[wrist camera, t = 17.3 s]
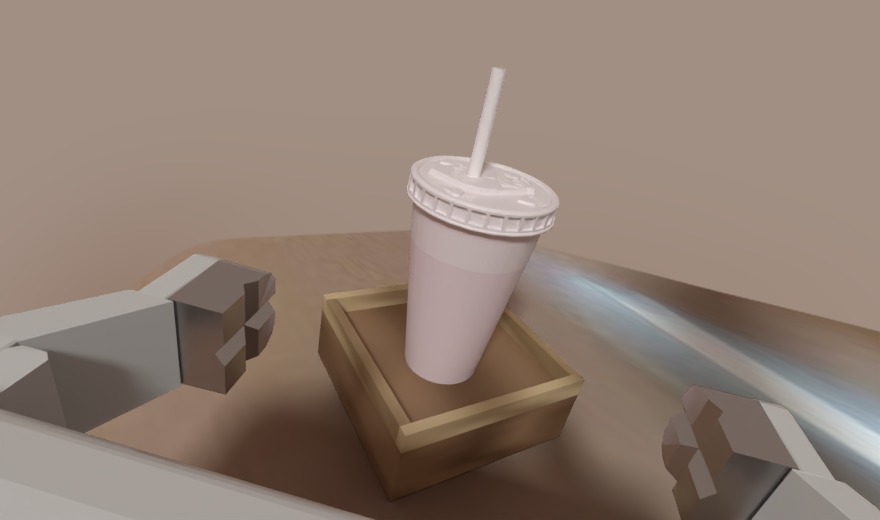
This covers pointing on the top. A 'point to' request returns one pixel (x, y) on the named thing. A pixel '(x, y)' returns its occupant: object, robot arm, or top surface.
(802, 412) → the top surface
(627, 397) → the top surface
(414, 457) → the wooden tray
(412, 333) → the smoothie
